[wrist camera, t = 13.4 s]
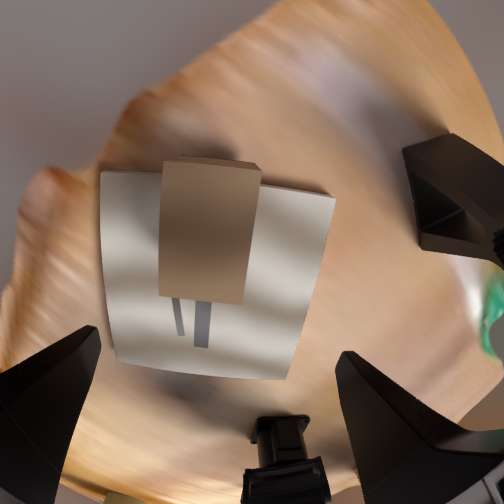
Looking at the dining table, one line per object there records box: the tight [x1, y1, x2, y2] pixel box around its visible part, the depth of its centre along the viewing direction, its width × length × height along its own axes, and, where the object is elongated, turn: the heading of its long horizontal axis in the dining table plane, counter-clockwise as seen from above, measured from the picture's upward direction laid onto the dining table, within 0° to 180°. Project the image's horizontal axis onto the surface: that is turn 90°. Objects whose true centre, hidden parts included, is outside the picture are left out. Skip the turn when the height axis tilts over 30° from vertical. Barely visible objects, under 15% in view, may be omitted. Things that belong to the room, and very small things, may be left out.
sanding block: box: [158, 155, 262, 305], centre depth 15 cm, size 7×4×5 cm, turn 172°
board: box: [100, 170, 336, 380], centre depth 21 cm, size 17×16×1 cm
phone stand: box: [402, 133, 504, 270], centre depth 14 cm, size 9×6×12 cm, turn 22°
